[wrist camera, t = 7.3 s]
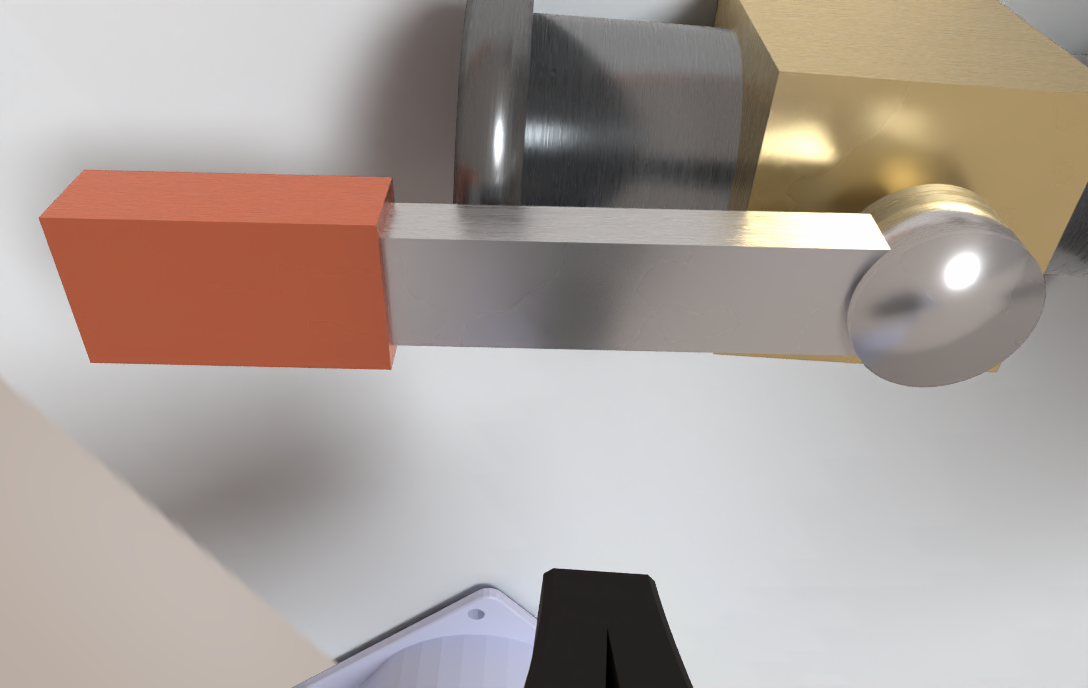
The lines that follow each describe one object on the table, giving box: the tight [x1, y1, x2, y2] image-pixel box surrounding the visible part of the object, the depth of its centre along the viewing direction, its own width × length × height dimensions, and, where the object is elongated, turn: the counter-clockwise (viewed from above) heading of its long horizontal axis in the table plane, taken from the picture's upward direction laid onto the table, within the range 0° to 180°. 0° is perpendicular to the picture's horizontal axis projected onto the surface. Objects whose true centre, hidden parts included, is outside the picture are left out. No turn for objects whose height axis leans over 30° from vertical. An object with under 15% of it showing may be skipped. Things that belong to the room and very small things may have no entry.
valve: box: [453, 0, 1088, 372], centre depth 16 cm, size 14×6×6 cm, turn 86°
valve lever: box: [39, 170, 1046, 387], centre depth 13 cm, size 14×3×1 cm, turn 89°
